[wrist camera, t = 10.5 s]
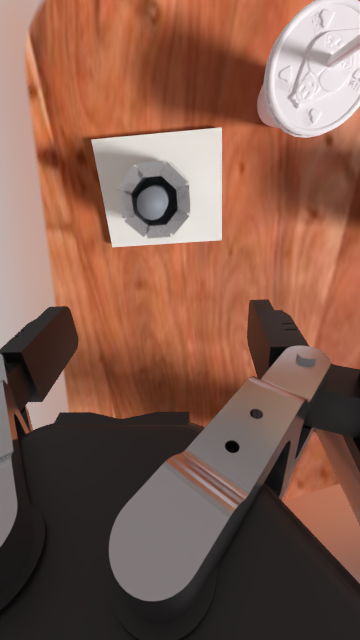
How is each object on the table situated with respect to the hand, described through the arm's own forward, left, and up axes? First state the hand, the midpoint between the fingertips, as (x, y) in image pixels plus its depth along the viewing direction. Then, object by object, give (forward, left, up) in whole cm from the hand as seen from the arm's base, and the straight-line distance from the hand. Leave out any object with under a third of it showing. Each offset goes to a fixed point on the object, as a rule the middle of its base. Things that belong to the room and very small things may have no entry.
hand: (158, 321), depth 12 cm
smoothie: (-10, -10, -21) cm, 25 cm away
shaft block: (+1, -4, -21) cm, 21 cm away
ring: (+1, -4, -18) cm, 18 cm away
